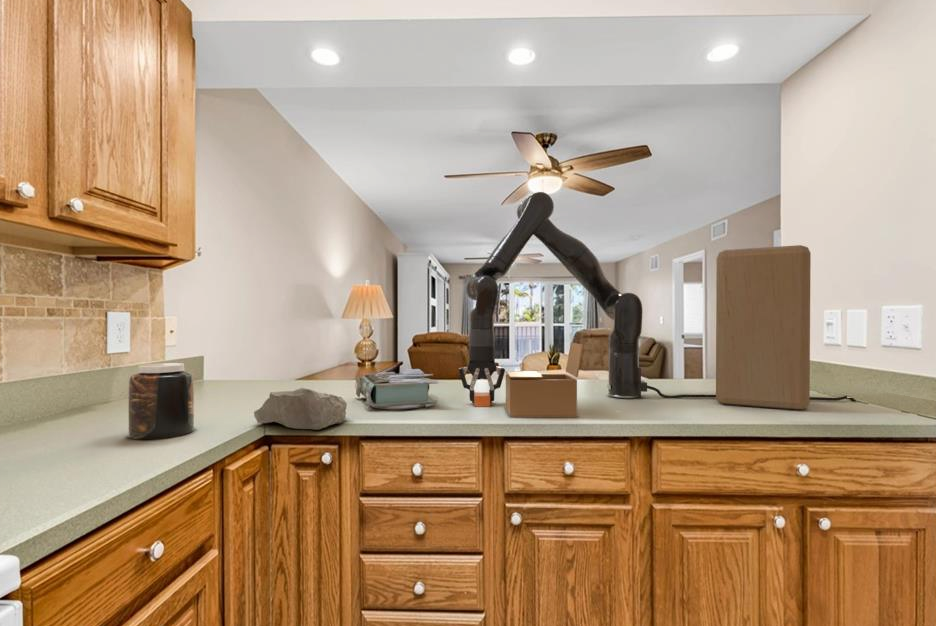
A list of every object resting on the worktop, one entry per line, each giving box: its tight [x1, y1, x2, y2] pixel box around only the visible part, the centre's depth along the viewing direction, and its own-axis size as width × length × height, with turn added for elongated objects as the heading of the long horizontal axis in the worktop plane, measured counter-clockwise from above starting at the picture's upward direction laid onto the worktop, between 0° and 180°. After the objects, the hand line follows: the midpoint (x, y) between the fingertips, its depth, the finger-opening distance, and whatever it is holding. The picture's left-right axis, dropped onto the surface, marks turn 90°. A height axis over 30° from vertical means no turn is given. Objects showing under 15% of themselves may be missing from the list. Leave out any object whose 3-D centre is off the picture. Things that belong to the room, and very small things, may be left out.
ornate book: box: [354, 368, 446, 410], centre depth 144 cm, size 23×10×30 cm
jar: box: [128, 362, 195, 441], centre depth 105 cm, size 12×12×15 cm
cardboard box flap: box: [565, 341, 584, 378], centre depth 129 cm, size 8×13×1 cm
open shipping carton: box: [505, 370, 578, 418], centre depth 129 cm, size 17×13×10 cm
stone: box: [253, 387, 348, 431], centre depth 115 cm, size 18×10×20 cm
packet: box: [473, 391, 491, 408], centre depth 141 cm, size 7×4×3 cm, turn 0°
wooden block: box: [715, 244, 812, 411], centre depth 144 cm, size 22×22×45 cm
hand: (481, 402), depth 141 cm, fingers closed on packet, 4 cm apart
